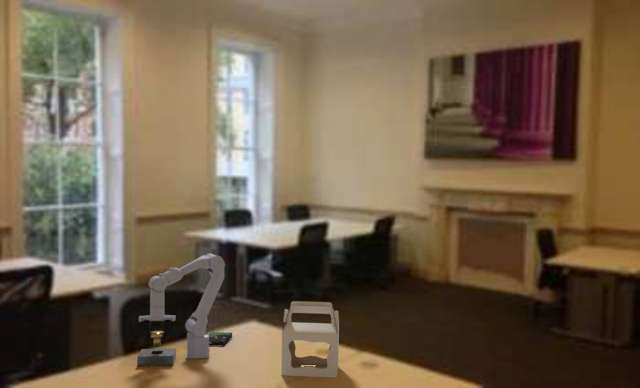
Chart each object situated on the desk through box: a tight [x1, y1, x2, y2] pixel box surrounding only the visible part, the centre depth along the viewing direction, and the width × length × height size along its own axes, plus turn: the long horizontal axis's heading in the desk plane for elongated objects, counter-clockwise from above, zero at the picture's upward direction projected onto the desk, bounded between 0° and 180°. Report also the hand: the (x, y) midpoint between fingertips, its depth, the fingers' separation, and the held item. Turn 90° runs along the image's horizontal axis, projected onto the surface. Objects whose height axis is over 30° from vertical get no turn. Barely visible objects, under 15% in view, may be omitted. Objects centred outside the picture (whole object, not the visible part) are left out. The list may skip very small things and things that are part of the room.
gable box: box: [281, 300, 340, 379], centre depth 236 cm, size 22×13×28 cm, turn 86°
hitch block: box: [136, 348, 177, 367], centre depth 244 cm, size 14×10×4 cm
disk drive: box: [208, 331, 233, 347], centre depth 276 cm, size 10×3×15 cm
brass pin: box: [150, 330, 164, 347], centre depth 244 cm, size 6×6×5 cm
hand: (157, 338), depth 244 cm, fingers closed on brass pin, 6 cm apart
